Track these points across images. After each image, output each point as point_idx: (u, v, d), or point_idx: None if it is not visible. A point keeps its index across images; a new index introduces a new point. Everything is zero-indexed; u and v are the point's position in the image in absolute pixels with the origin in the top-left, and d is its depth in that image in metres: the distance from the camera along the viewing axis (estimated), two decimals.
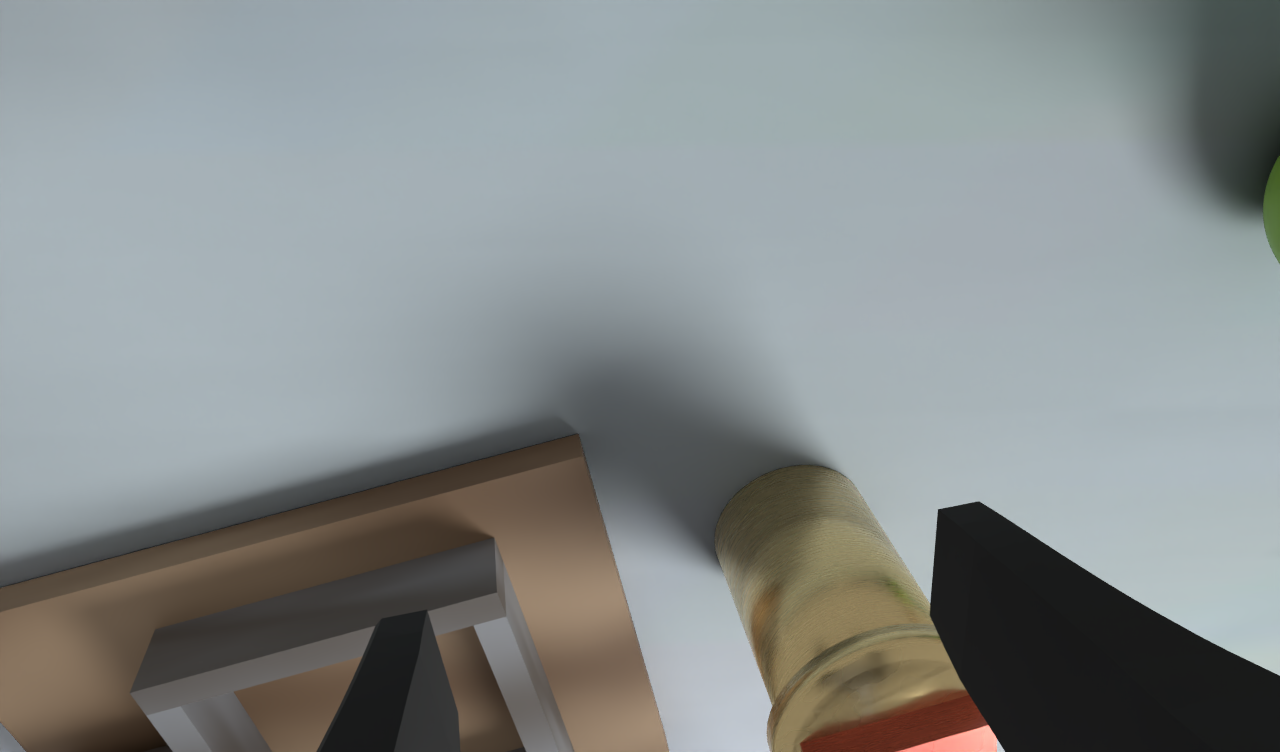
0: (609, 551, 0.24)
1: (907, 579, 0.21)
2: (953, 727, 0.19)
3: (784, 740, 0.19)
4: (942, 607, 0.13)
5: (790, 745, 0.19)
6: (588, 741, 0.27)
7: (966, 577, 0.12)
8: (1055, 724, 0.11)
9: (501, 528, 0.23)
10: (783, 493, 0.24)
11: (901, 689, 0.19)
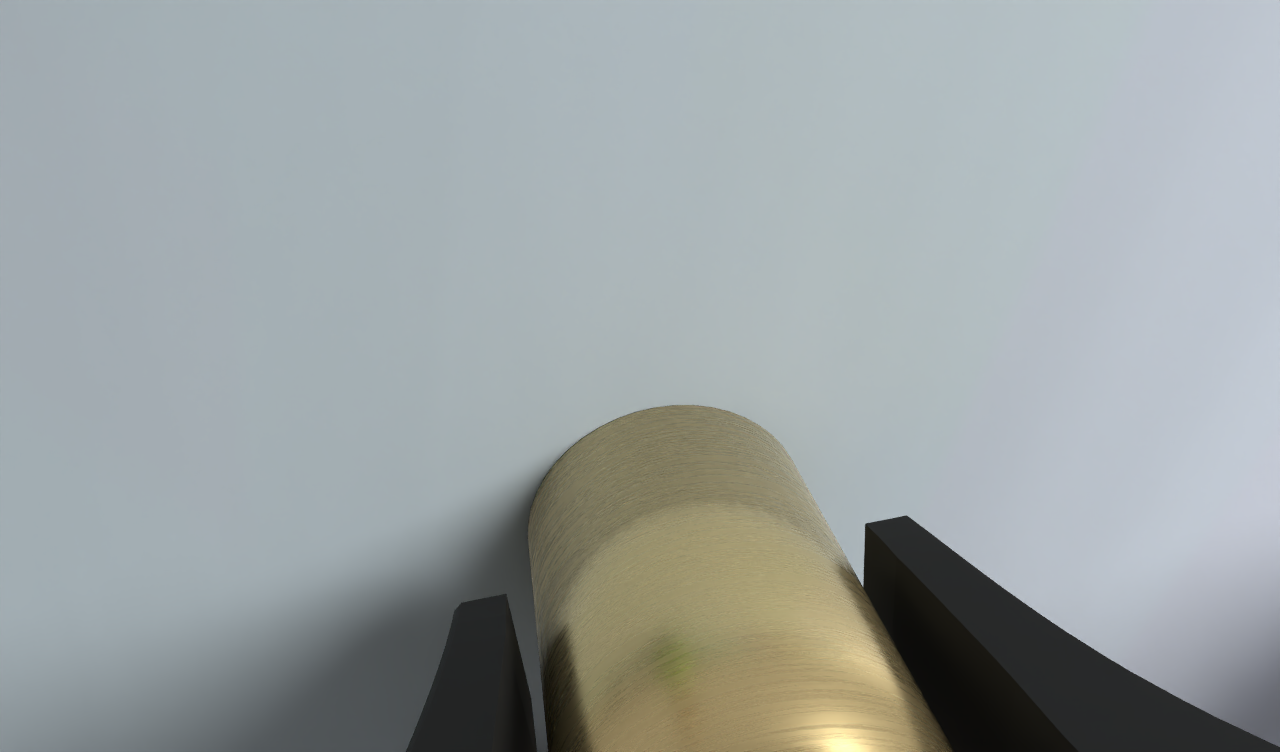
0: None
1: (600, 678, 0.10)
2: None
3: None
4: None
5: None
6: None
7: (890, 592, 0.12)
8: (970, 743, 0.10)
9: None
10: None
11: None
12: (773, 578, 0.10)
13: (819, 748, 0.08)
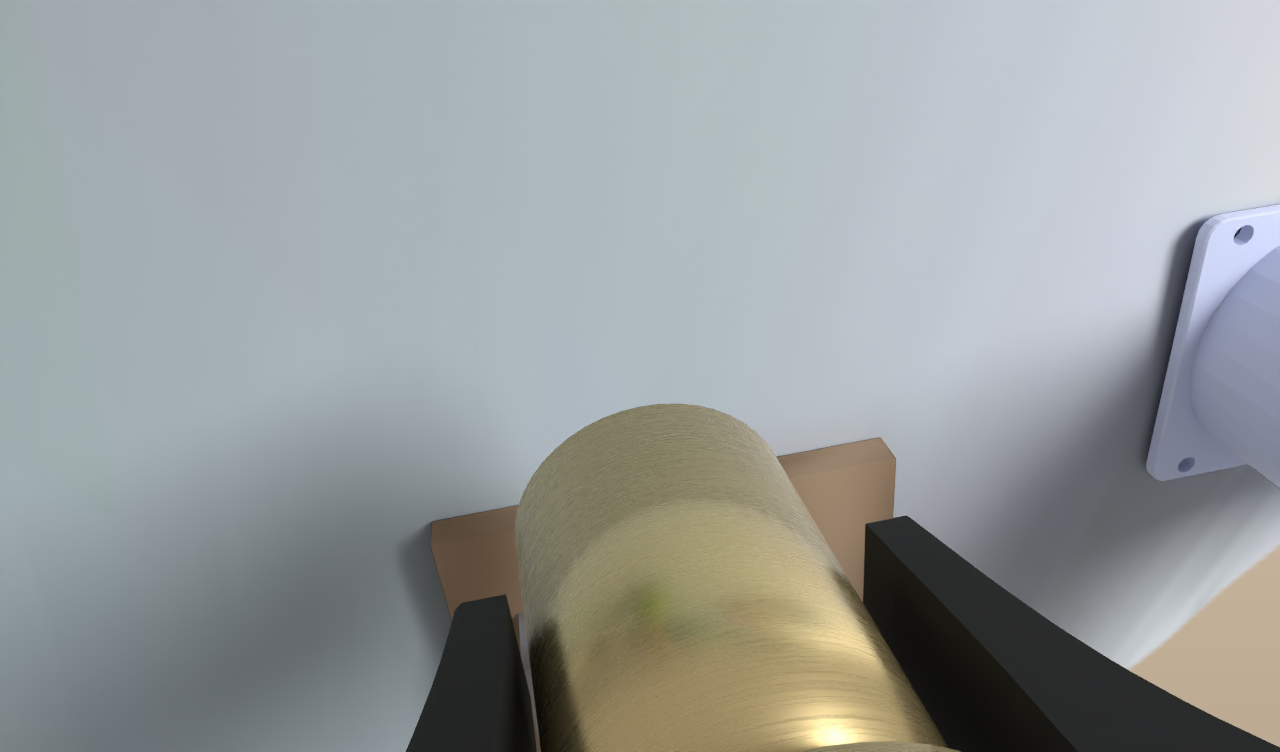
0: None
1: (593, 676, 0.10)
2: None
3: None
4: None
5: None
6: None
7: (890, 592, 0.12)
8: (970, 743, 0.10)
9: None
10: None
11: None
12: (762, 572, 0.10)
13: (814, 739, 0.08)
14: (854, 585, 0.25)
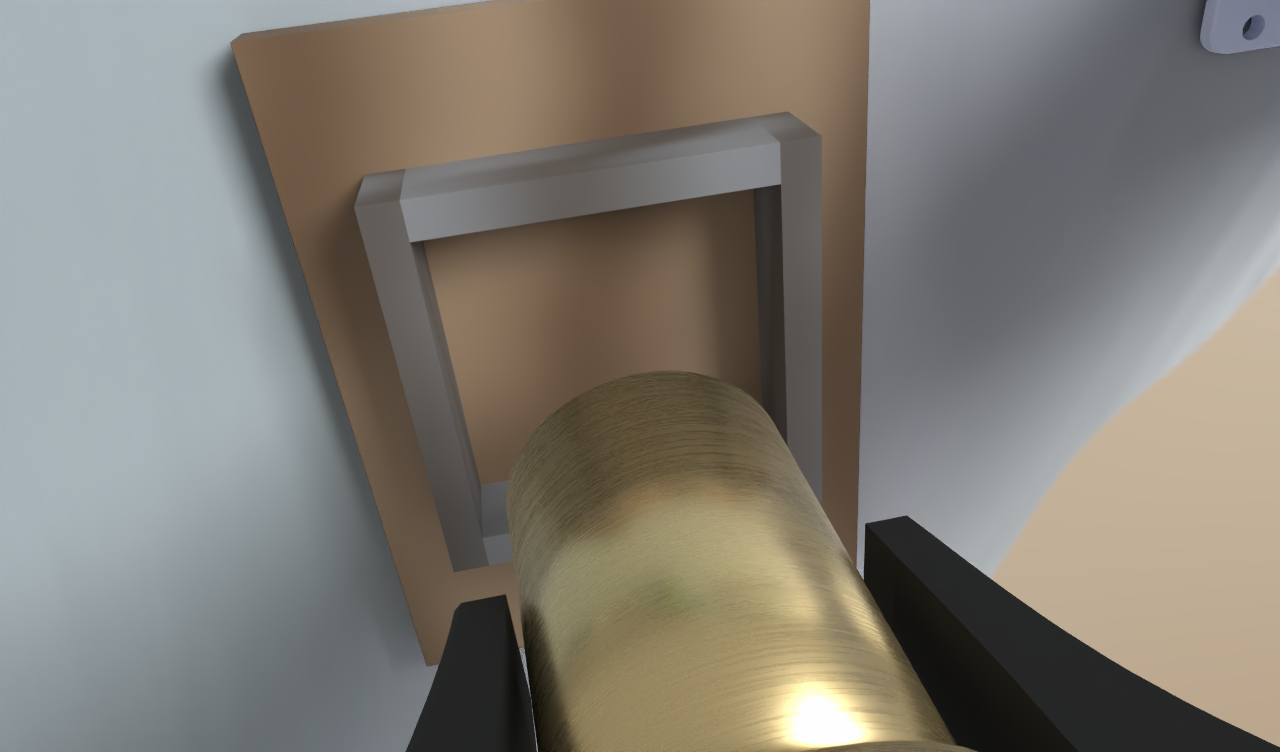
0: (406, 20, 0.16)
1: (589, 661, 0.09)
2: None
3: None
4: None
5: None
6: (775, 88, 0.18)
7: (890, 592, 0.12)
8: (970, 743, 0.10)
9: (349, 163, 0.18)
10: None
11: None
12: (762, 555, 0.10)
13: (816, 734, 0.08)
14: None
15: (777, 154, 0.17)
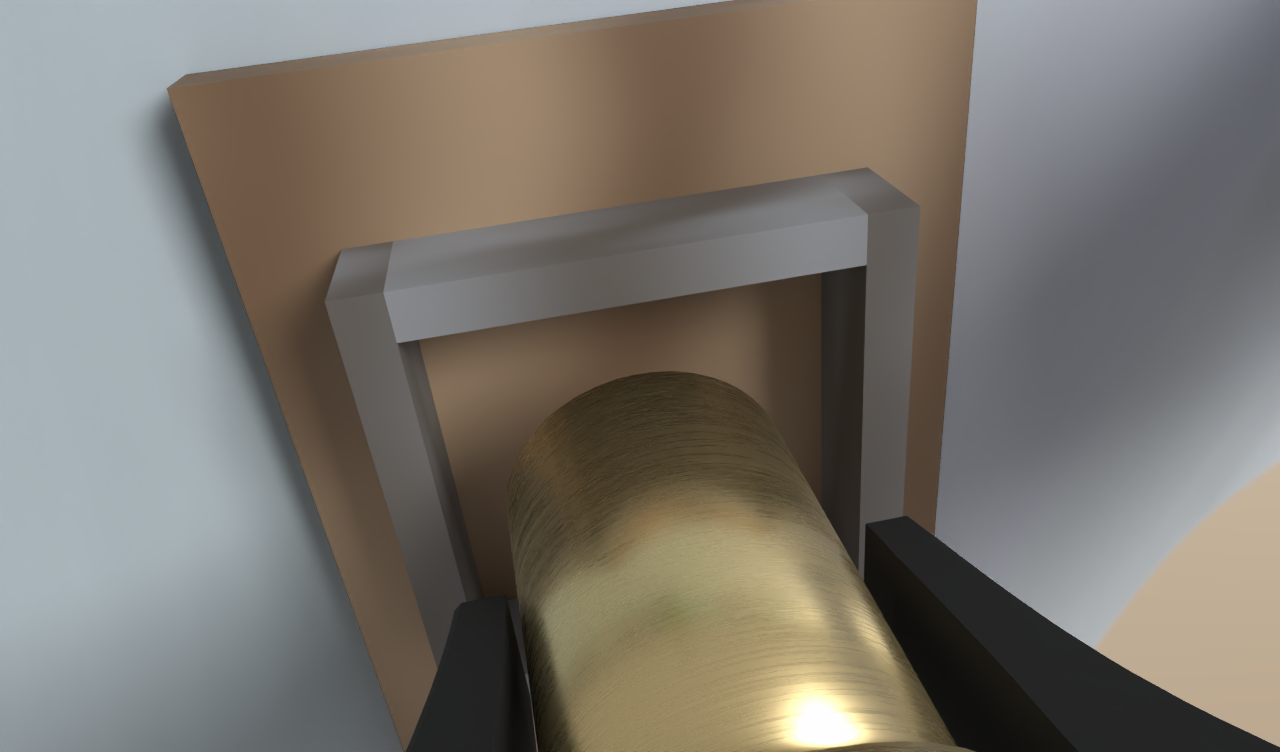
0: (392, 59, 0.13)
1: (589, 662, 0.09)
2: None
3: None
4: None
5: None
6: (853, 140, 0.15)
7: (890, 592, 0.12)
8: (970, 743, 0.10)
9: (322, 235, 0.14)
10: None
11: None
12: (763, 556, 0.10)
13: (816, 735, 0.08)
14: None
15: (863, 229, 0.13)
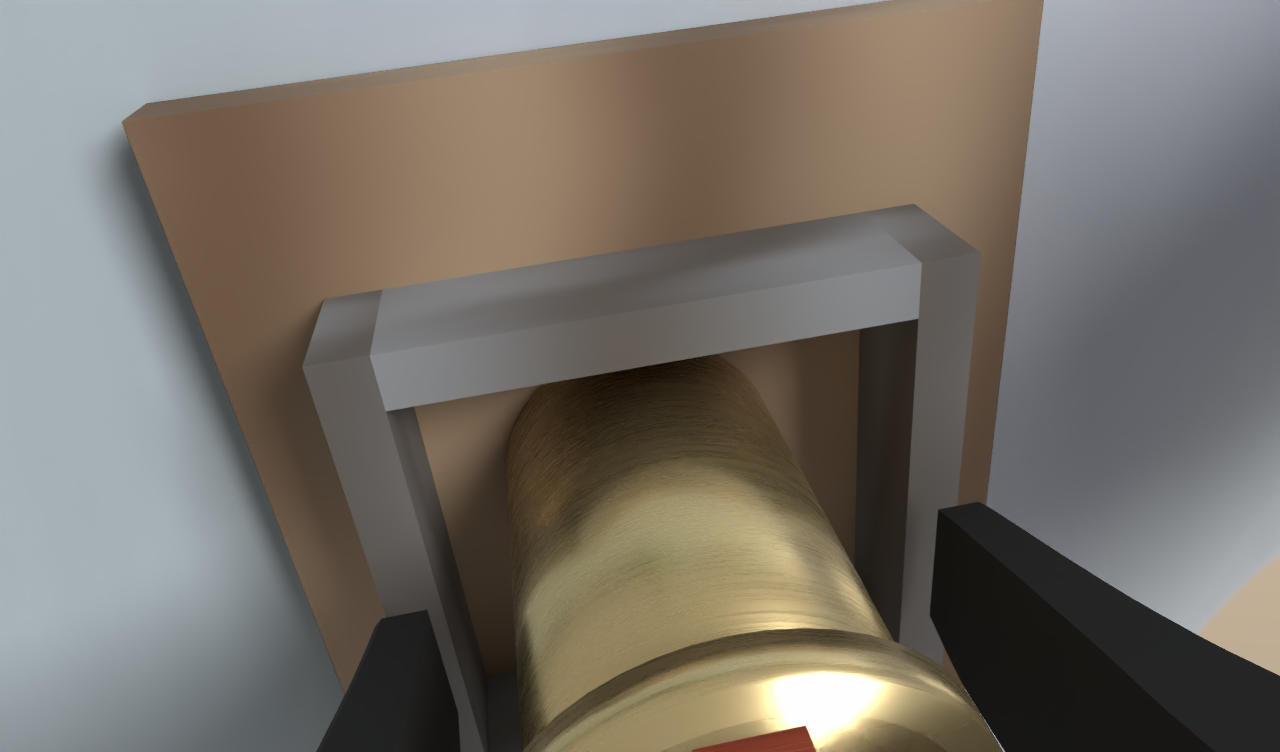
0: (380, 88, 0.11)
1: (561, 580, 0.10)
2: None
3: None
4: (942, 607, 0.13)
5: None
6: (899, 174, 0.13)
7: (966, 577, 0.12)
8: (1055, 724, 0.11)
9: (302, 284, 0.12)
10: None
11: None
12: (727, 488, 0.10)
13: (760, 629, 0.09)
14: None
15: (916, 279, 0.12)
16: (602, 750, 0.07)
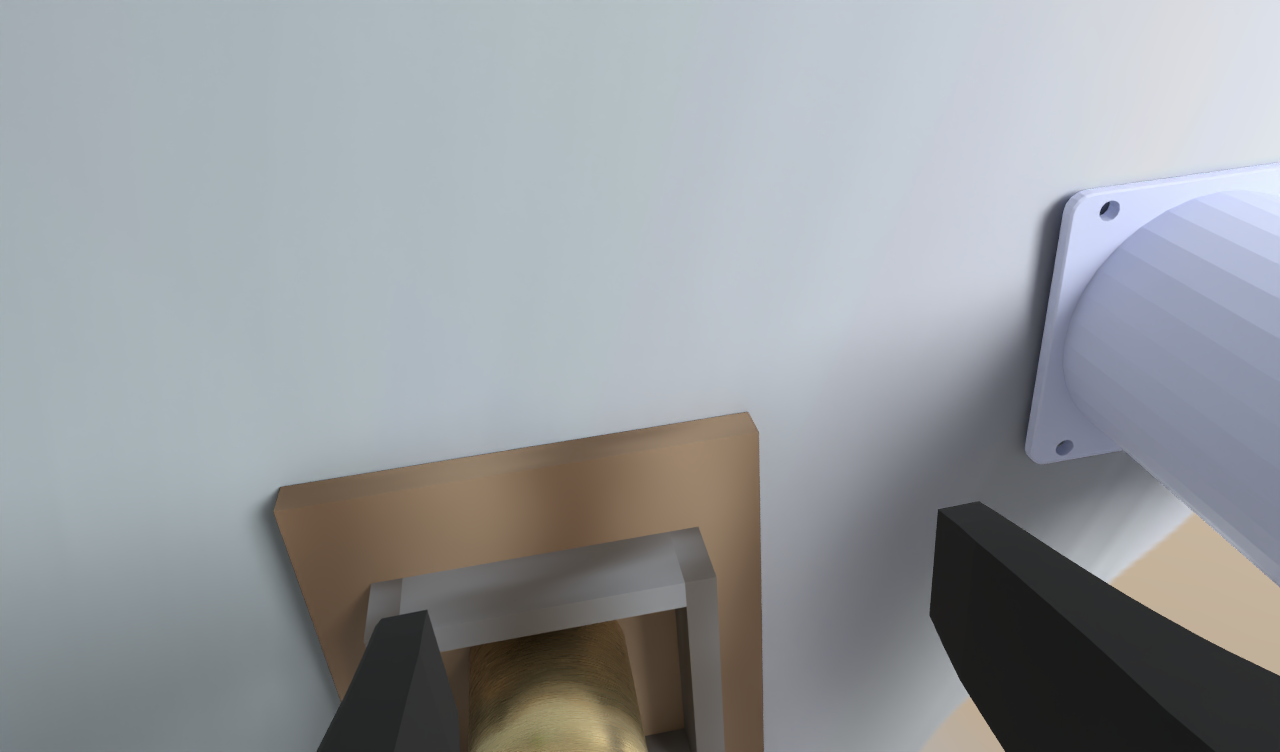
0: (405, 491, 0.22)
1: (490, 751, 0.21)
2: None
3: None
4: (942, 607, 0.13)
5: None
6: (688, 513, 0.24)
7: (966, 577, 0.12)
8: (1055, 724, 0.11)
9: (359, 577, 0.23)
10: None
11: None
12: (575, 705, 0.21)
13: None
14: (723, 563, 0.25)
15: (683, 589, 0.22)
16: None
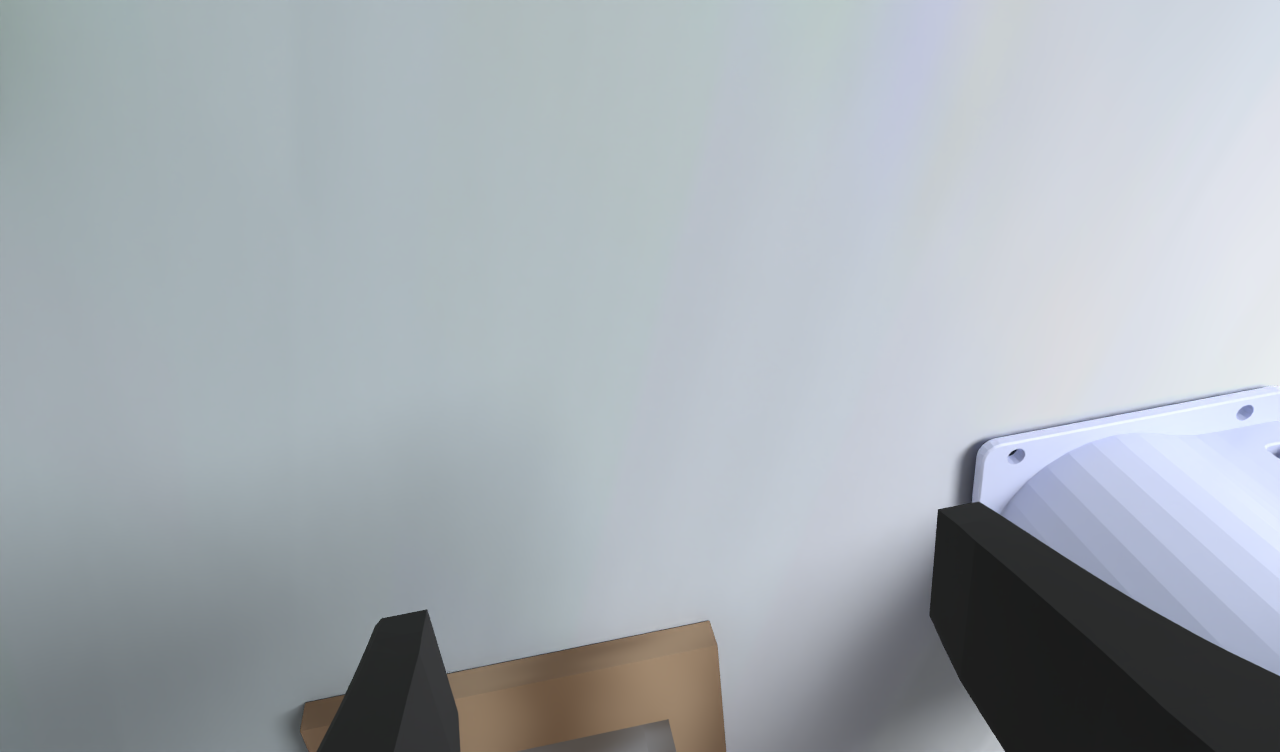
0: None
1: None
2: None
3: None
4: (942, 607, 0.13)
5: None
6: (658, 710, 0.27)
7: (966, 577, 0.12)
8: (1055, 724, 0.11)
9: None
10: None
11: None
12: None
13: None
14: (692, 745, 0.28)
15: None
16: None
